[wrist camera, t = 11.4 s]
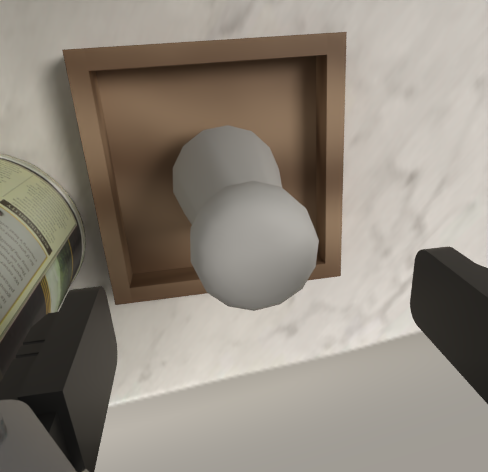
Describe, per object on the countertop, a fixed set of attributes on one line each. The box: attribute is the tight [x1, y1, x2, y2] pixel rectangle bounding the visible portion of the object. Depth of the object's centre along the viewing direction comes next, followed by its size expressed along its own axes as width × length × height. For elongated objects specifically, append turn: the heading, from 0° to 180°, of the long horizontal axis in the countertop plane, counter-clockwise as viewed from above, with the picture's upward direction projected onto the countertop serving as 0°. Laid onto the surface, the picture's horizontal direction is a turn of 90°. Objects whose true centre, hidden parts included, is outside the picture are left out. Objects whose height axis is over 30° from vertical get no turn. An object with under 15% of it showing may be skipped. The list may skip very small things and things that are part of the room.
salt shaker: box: [173, 125, 319, 311], centre depth 19 cm, size 6×6×13 cm
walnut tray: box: [63, 32, 346, 305], centre depth 24 cm, size 14×14×2 cm
